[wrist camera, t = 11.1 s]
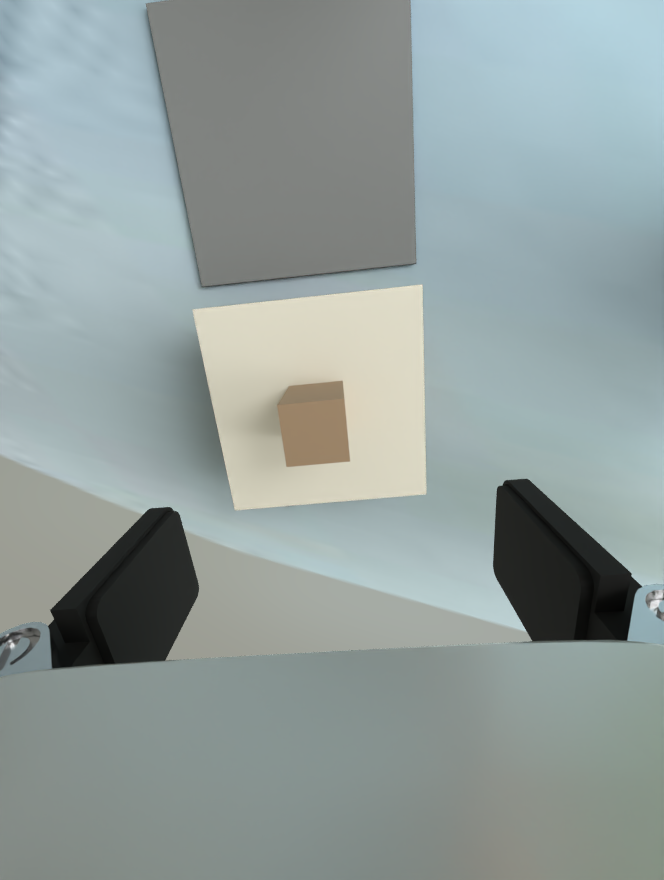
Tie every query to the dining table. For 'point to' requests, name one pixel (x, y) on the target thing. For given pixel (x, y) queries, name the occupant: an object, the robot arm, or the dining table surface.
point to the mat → (291, 133)
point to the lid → (319, 396)
